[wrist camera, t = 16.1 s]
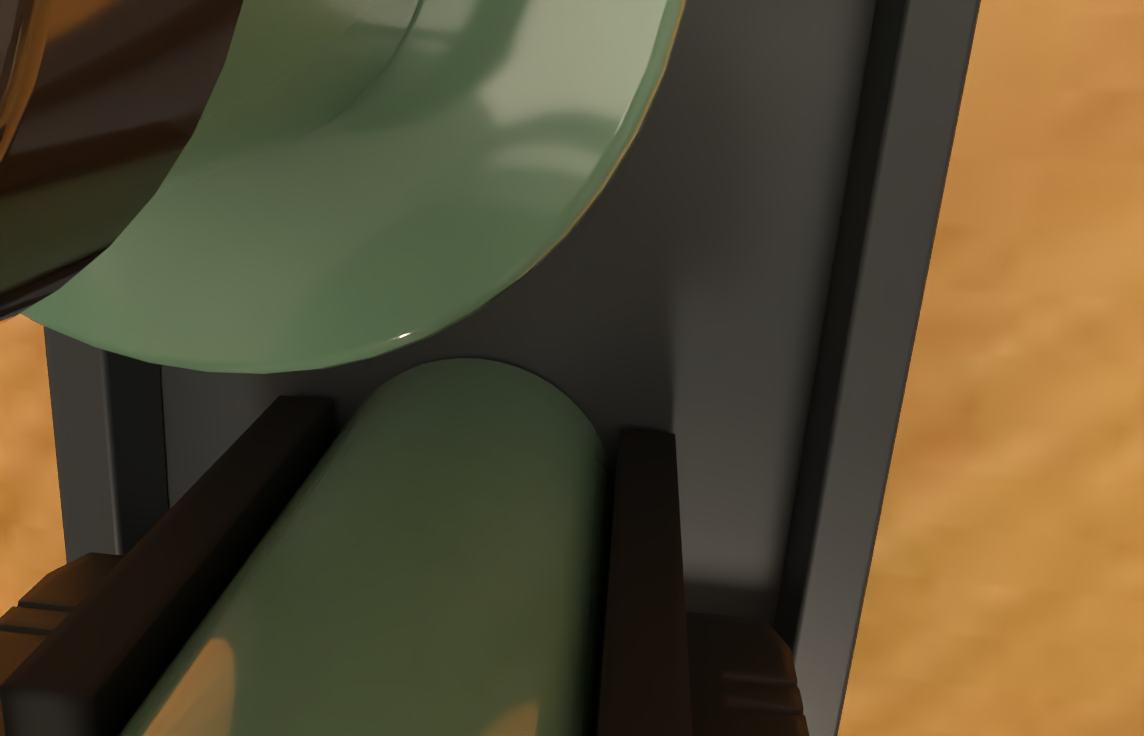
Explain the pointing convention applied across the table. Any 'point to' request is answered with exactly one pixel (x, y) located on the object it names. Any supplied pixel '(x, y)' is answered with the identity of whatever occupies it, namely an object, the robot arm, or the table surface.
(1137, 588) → the table surface
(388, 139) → the tray bottle
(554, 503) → the loose bottle
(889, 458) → the tray
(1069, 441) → the table surface
